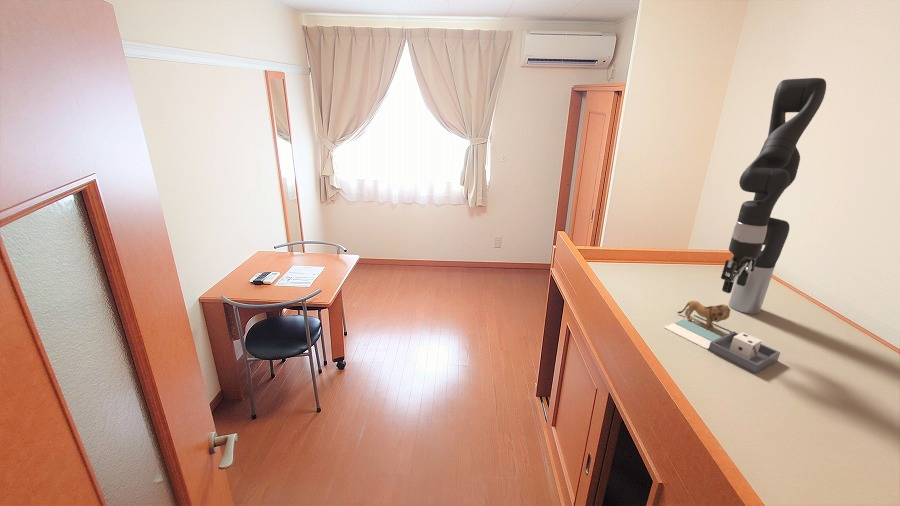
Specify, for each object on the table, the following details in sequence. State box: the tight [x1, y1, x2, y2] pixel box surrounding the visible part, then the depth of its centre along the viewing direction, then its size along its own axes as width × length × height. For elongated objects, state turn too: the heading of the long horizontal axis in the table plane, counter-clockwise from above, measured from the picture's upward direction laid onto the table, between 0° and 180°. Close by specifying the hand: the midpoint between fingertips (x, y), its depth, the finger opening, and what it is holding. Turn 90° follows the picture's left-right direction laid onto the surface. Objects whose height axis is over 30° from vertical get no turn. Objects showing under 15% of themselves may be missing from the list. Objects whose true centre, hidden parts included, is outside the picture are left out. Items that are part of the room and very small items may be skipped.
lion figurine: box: [677, 300, 731, 331], centre depth 131 cm, size 15×5×9 cm, turn 38°
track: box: [663, 314, 733, 350], centre depth 127 cm, size 17×14×1 cm
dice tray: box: [707, 331, 781, 375], centre depth 115 cm, size 12×12×3 cm
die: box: [730, 331, 763, 360], centre depth 114 cm, size 5×5×5 cm
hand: (733, 288), depth 120 cm, fingers open, 8 cm apart
